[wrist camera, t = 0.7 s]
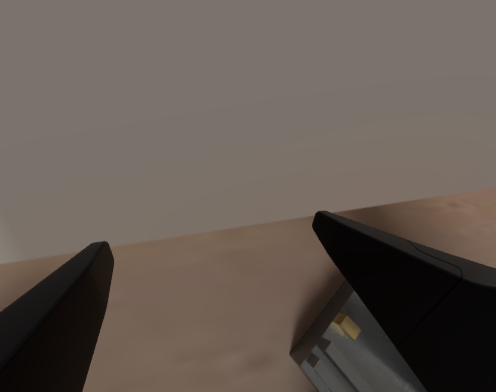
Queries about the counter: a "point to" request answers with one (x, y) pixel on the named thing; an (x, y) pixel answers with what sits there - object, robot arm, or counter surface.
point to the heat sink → (352, 351)
